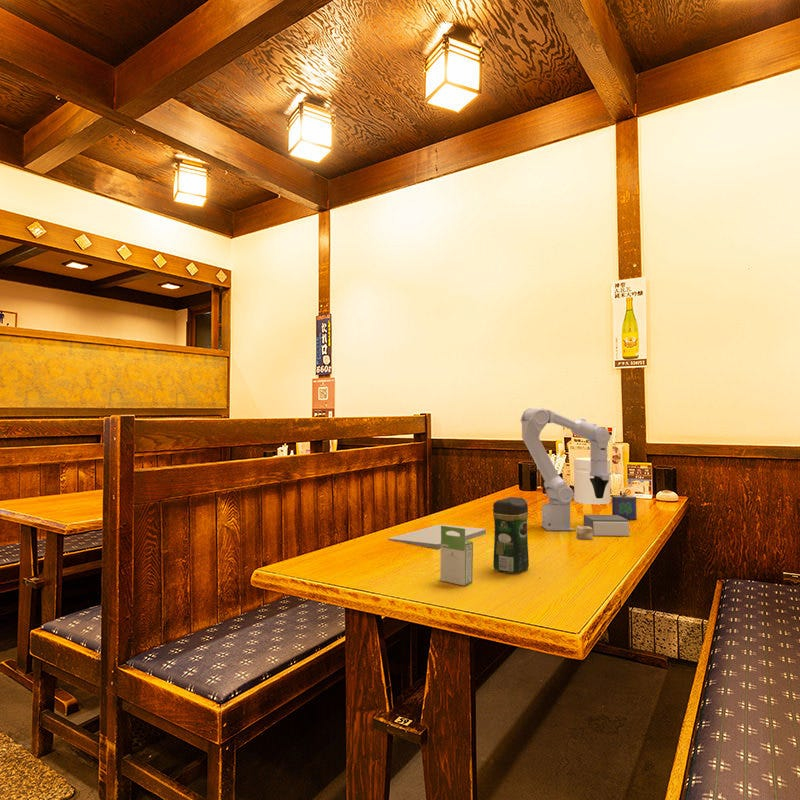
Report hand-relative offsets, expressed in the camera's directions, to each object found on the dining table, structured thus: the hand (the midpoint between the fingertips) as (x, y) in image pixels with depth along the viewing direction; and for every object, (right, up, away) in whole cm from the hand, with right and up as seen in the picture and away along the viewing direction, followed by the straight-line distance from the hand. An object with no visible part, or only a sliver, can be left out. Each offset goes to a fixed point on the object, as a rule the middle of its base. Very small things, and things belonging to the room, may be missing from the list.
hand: (599, 498), depth 195 cm
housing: (-1, -10, -10) cm, 14 cm away
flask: (+15, -11, +14) cm, 24 cm away
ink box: (-58, -9, -65) cm, 88 cm away
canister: (+18, -12, +57) cm, 61 cm away
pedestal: (-12, -10, -18) cm, 24 cm away
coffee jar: (-43, -9, -55) cm, 70 cm away
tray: (-1, -10, -10) cm, 14 cm away
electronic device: (-59, -10, -16) cm, 62 cm away
